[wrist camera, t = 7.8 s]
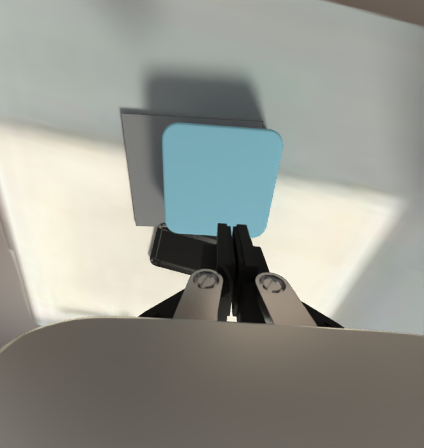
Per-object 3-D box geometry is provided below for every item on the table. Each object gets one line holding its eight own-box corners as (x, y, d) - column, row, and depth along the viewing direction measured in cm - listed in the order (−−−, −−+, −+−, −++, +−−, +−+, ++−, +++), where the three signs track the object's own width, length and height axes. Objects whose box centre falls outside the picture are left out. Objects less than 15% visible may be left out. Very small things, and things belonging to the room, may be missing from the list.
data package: (274, 130, 23) (169, 122, 23) (287, 130, 19) (160, 120, 19) (256, 223, 28) (171, 218, 28) (264, 239, 24) (164, 233, 24)
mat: (262, 121, 23) (263, 121, 23) (247, 228, 29) (247, 230, 29) (123, 114, 23) (121, 113, 22) (137, 223, 29) (135, 225, 28)
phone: (159, 221, 28) (257, 250, 30) (161, 218, 29) (255, 247, 31) (148, 264, 31) (237, 288, 33) (150, 260, 32) (236, 283, 34)
